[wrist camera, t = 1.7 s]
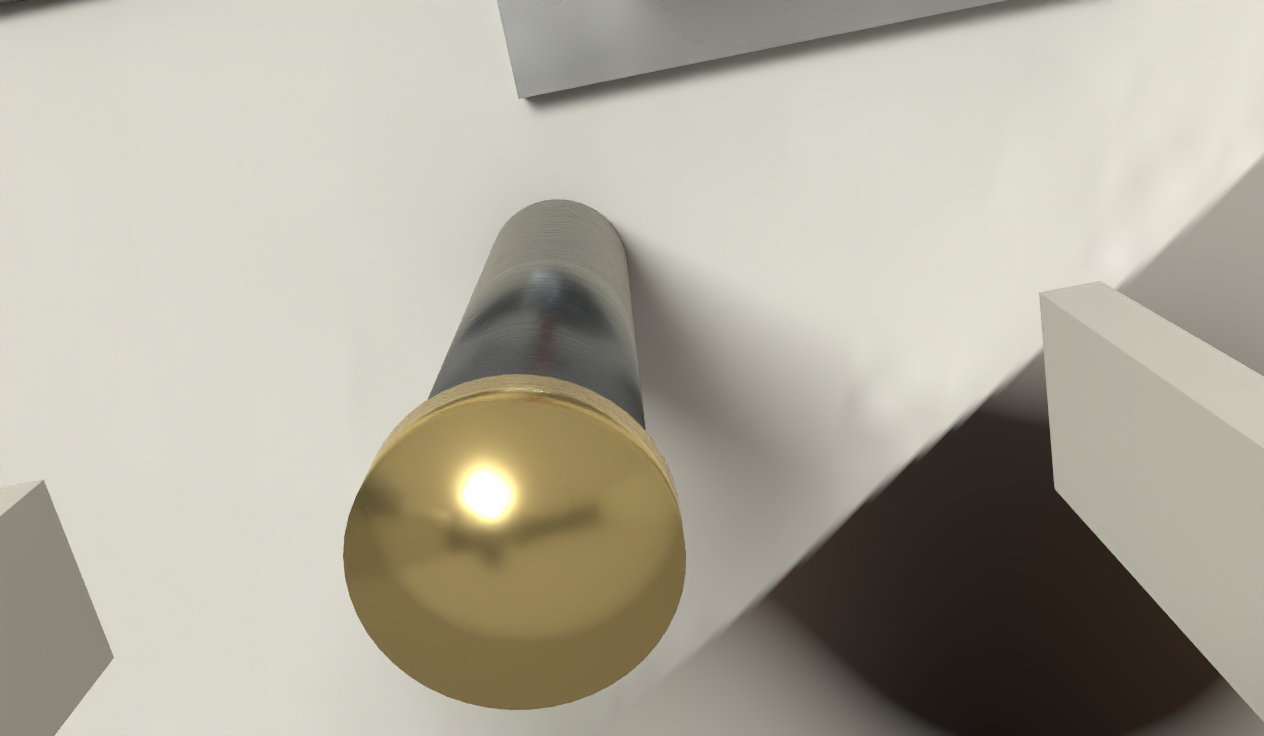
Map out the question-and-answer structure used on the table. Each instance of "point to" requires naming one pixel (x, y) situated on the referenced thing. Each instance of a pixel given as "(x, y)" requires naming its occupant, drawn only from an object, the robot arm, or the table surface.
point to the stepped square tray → (674, 32)
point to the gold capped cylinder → (525, 487)
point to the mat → (8, 1)
